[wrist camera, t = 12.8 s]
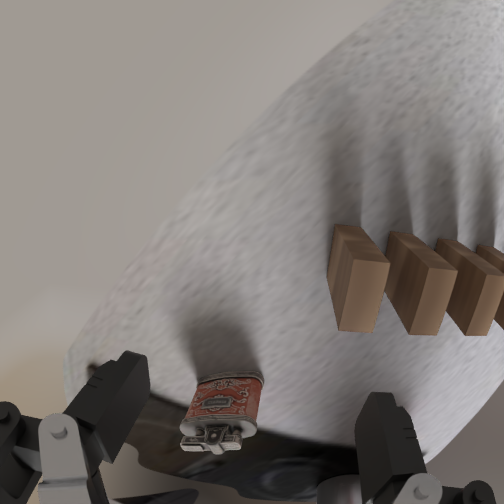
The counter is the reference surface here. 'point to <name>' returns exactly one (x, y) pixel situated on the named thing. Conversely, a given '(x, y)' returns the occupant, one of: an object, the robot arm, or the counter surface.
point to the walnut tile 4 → (500, 262)
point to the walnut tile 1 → (356, 279)
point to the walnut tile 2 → (418, 283)
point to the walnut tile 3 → (471, 288)
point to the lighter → (222, 412)
